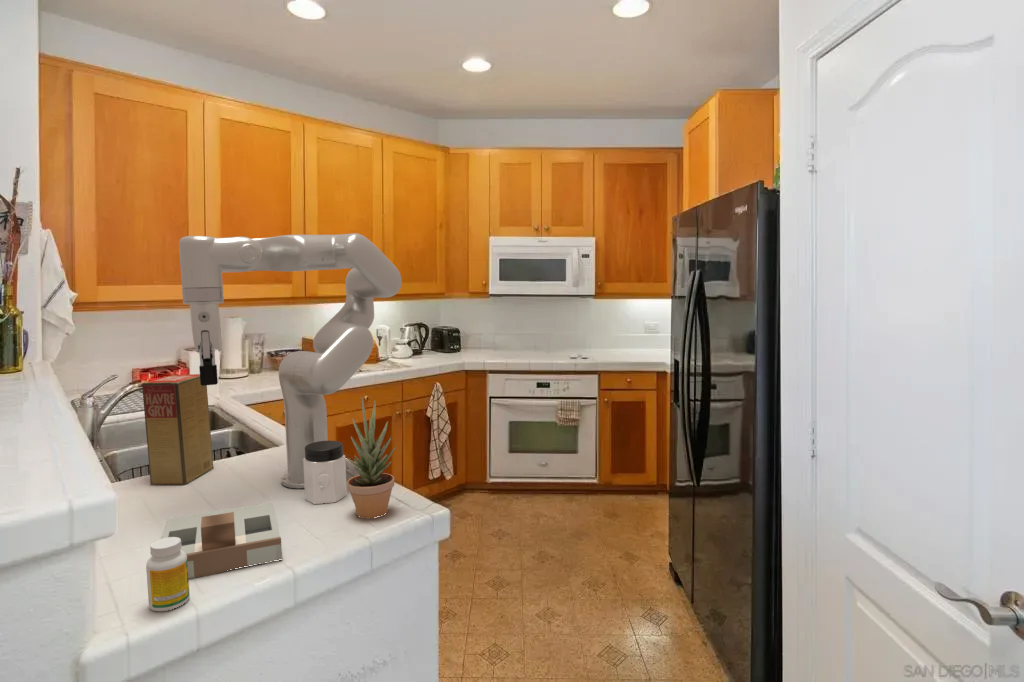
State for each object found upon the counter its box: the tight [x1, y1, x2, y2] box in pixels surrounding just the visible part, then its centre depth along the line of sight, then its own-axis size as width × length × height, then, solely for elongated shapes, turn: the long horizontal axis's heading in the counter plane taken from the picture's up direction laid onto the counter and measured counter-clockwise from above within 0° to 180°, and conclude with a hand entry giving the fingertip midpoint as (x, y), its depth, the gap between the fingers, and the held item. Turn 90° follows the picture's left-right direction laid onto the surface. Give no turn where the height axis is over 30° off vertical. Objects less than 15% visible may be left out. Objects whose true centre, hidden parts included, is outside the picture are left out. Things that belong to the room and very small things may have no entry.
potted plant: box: [346, 396, 397, 519], centre depth 123 cm, size 10×10×25 cm
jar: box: [303, 440, 348, 505], centre depth 133 cm, size 9×8×12 cm
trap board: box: [161, 501, 283, 580], centre depth 109 cm, size 19×22×4 cm
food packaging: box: [141, 373, 215, 486], centre depth 149 cm, size 13×9×25 cm
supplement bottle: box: [145, 537, 191, 612], centre depth 90 cm, size 5×5×10 cm
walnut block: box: [201, 512, 236, 551], centre depth 102 cm, size 5×5×5 cm
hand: (209, 384), depth 125 cm, fingers closed
